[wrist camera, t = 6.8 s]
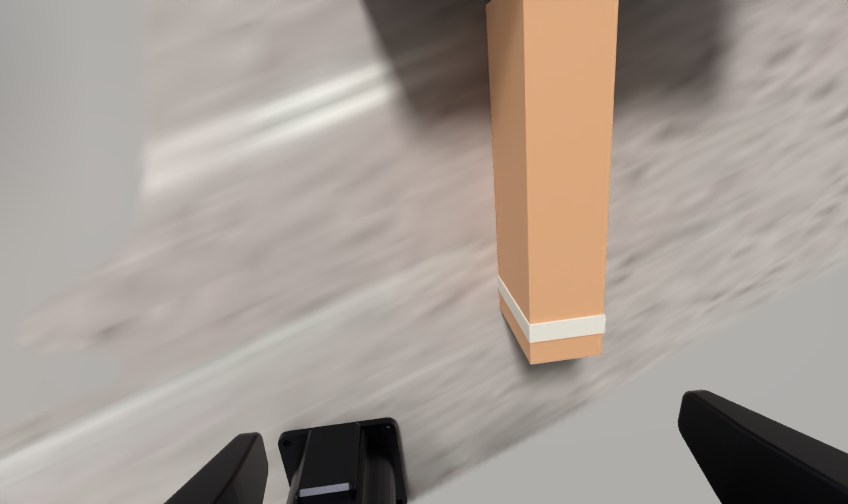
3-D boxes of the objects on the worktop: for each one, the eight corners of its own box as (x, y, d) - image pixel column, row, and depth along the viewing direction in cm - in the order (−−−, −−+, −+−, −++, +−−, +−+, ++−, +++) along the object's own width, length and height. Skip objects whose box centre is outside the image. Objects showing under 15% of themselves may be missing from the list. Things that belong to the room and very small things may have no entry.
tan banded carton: (557, 300, 22) (603, 355, 17) (499, 308, 22) (530, 366, 17) (558, -3, 17) (624, -42, 13) (484, 5, 17) (522, -31, 12)
